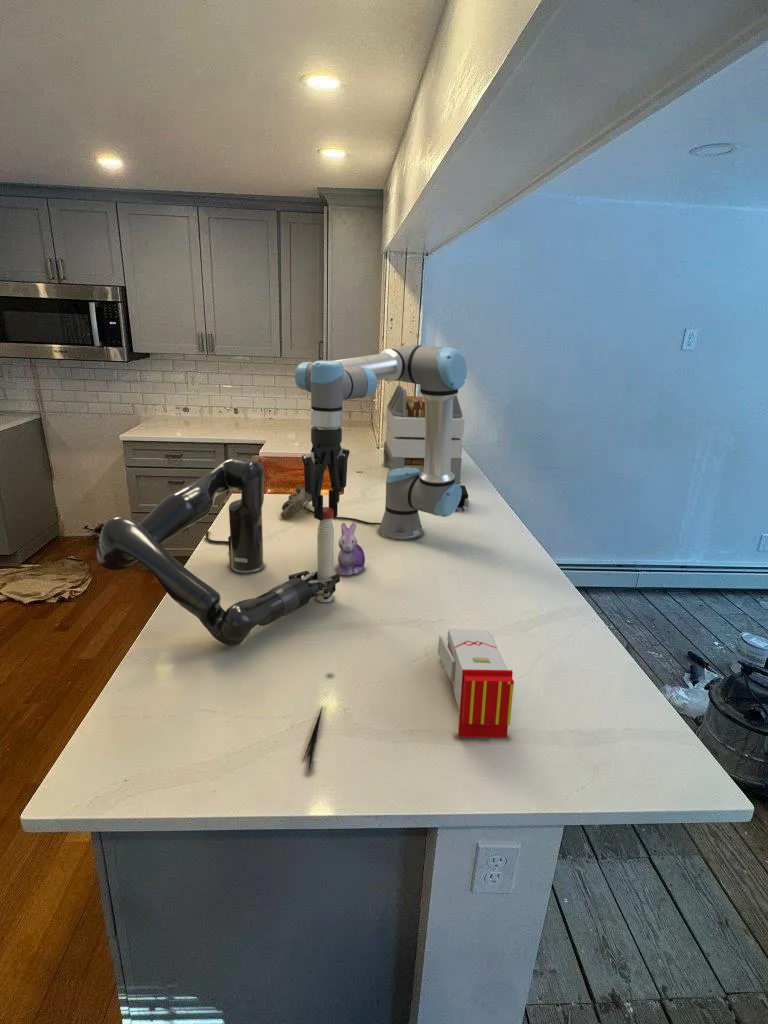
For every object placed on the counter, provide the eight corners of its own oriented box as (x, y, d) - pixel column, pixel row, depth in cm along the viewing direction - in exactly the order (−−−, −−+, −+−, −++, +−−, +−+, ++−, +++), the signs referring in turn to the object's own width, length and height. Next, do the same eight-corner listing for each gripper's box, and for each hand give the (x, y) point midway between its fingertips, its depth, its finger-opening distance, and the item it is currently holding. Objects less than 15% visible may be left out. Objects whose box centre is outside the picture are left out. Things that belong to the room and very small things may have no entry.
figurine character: (468, 516, 224) (463, 500, 237) (471, 498, 221) (465, 483, 234) (452, 515, 224) (447, 499, 237) (453, 498, 220) (449, 482, 234)
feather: (331, 679, 122) (336, 673, 122) (307, 777, 96) (313, 769, 95) (324, 675, 122) (329, 669, 121) (298, 772, 95) (304, 764, 95)
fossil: (285, 490, 226) (313, 470, 221) (301, 508, 229) (329, 489, 224) (270, 515, 206) (301, 493, 201) (287, 534, 209) (318, 513, 204)
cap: (330, 513, 148) (331, 506, 147) (335, 518, 145) (335, 511, 144) (315, 514, 147) (315, 507, 146) (320, 520, 143) (320, 512, 142)
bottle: (335, 600, 153) (336, 513, 144) (320, 603, 151) (321, 515, 142) (329, 593, 156) (330, 507, 148) (314, 596, 154) (315, 509, 146)
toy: (488, 613, 130) (523, 677, 101) (484, 667, 133) (517, 744, 104) (435, 612, 130) (455, 676, 101) (432, 666, 133) (451, 743, 103)
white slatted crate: (382, 463, 289) (386, 382, 275) (445, 464, 293) (451, 384, 279) (390, 482, 257) (394, 392, 243) (460, 483, 261) (468, 394, 247)
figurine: (343, 579, 165) (344, 531, 159) (329, 565, 173) (330, 519, 168) (372, 573, 169) (374, 526, 164) (357, 560, 177) (359, 515, 172)
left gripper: (267, 602, 145) (312, 579, 159) (308, 620, 138) (352, 594, 151) (266, 575, 143) (312, 554, 156) (308, 593, 135) (353, 569, 149)
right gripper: (343, 420, 146) (341, 506, 154) (288, 427, 135) (289, 519, 142) (363, 425, 141) (360, 514, 149) (307, 433, 130) (307, 528, 137)
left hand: (331, 574), depth 154 cm, fingers closed on bottle, 4 cm apart
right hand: (325, 516), depth 146 cm, fingers closed on cap, 4 cm apart
